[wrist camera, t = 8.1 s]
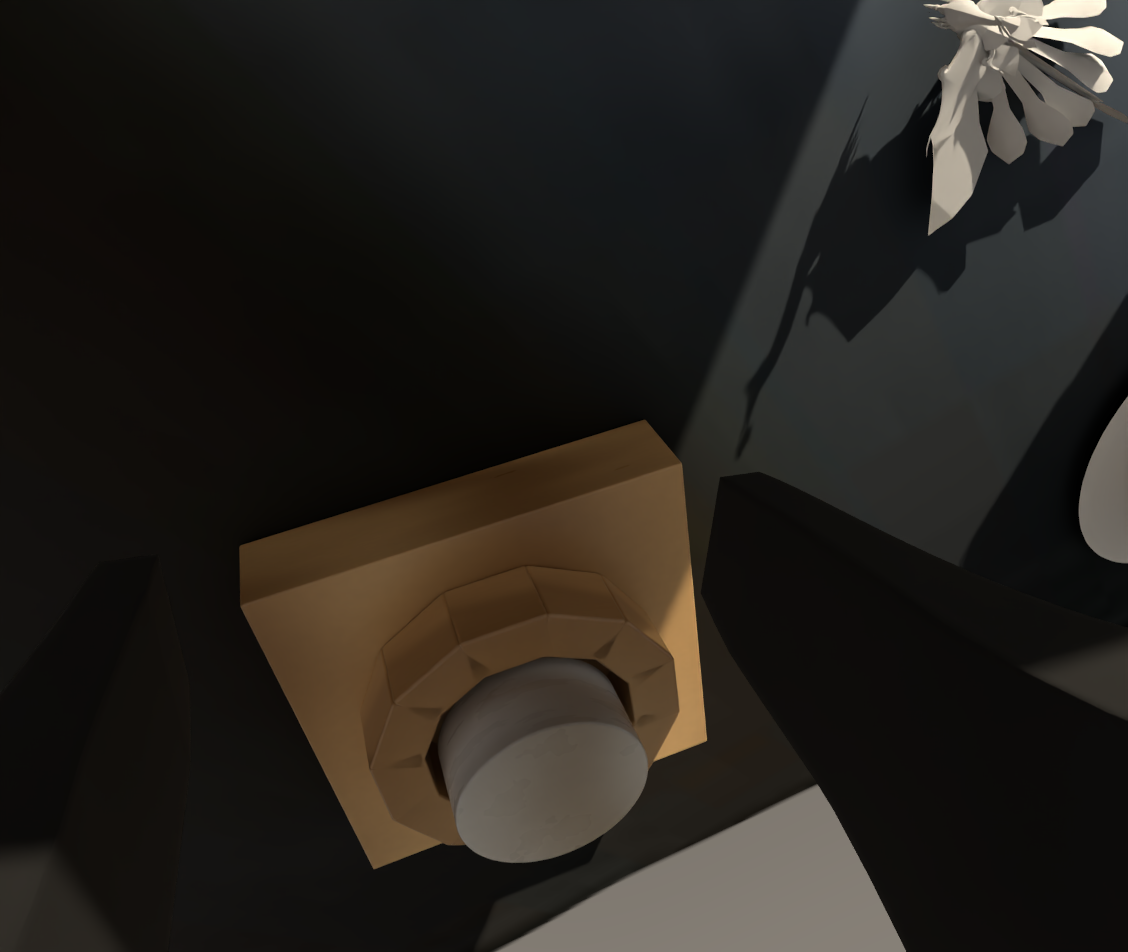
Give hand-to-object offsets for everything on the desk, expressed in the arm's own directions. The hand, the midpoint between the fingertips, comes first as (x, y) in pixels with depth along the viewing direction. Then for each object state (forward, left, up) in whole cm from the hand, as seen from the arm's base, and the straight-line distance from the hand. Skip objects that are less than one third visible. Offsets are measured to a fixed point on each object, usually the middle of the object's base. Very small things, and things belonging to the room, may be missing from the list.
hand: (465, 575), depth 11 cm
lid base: (+1, -9, -8) cm, 12 cm away
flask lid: (+1, -9, -5) cm, 10 cm away
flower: (+16, +2, -9) cm, 18 cm away
